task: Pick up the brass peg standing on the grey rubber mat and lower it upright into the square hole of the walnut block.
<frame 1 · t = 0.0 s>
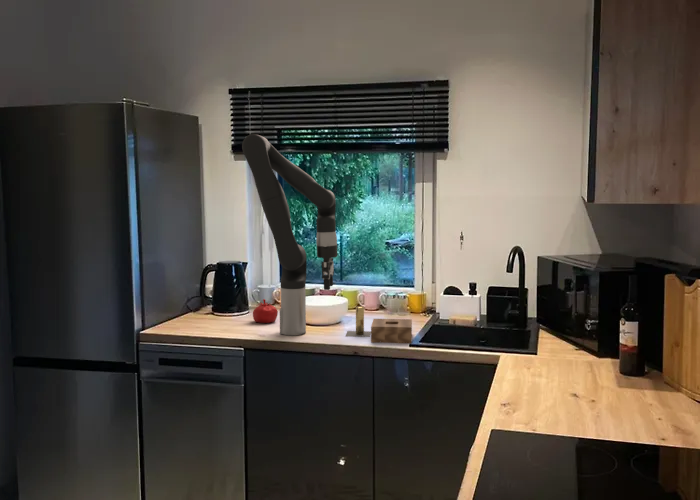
hand: (328, 287, 247), 17 cm above the worktop, fingers open, 8 cm apart
mat: (358, 334, 246), on the worktop
pomegranate: (265, 322, 270), on the worktop
peg: (359, 333, 246), resting on mat
hole block: (391, 339, 239), on the worktop
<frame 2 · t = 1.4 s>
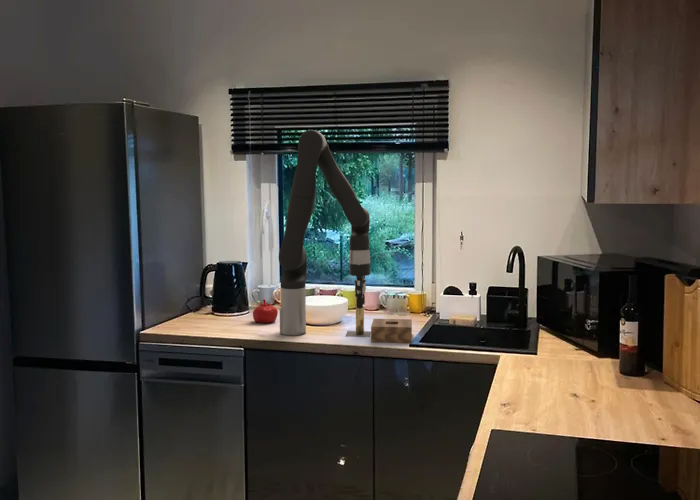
hand: (360, 306, 245), 11 cm above the worktop, fingers open, 8 cm apart
nothing on the worktop moved.
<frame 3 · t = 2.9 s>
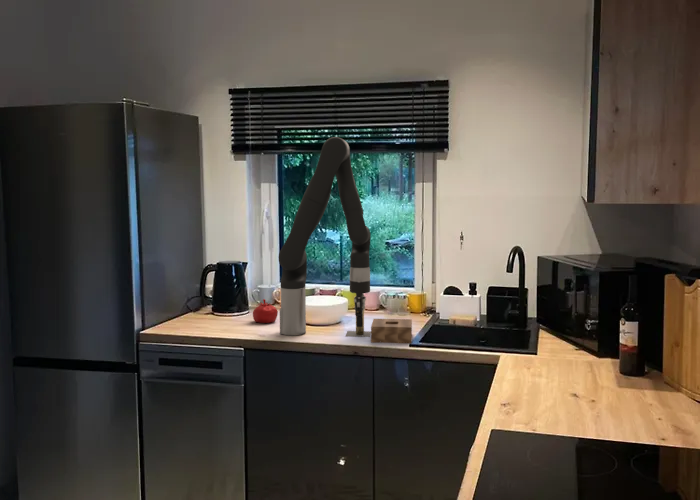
hand: (359, 325, 246), 4 cm above the worktop, fingers closed on peg, 3 cm apart
peg: (359, 333, 246), resting on mat, touching gripper
everything else where it was.
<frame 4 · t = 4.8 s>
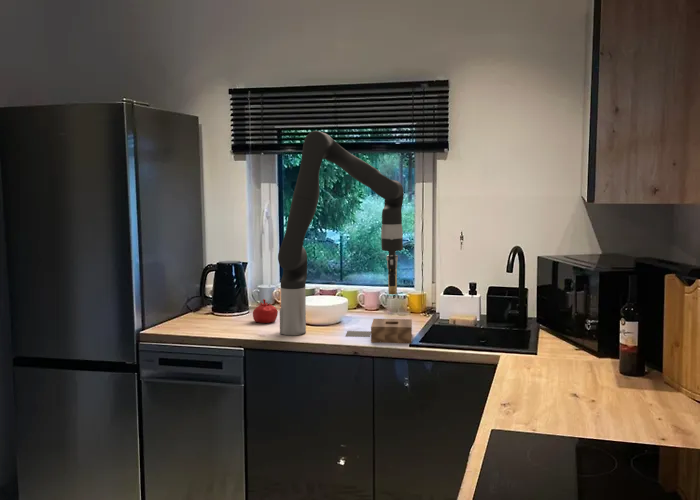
hand: (392, 285, 237), 20 cm above the worktop, fingers closed on peg, 3 cm apart
peg: (392, 293, 238), point 16 cm above the worktop, touching gripper
everything else where it was.
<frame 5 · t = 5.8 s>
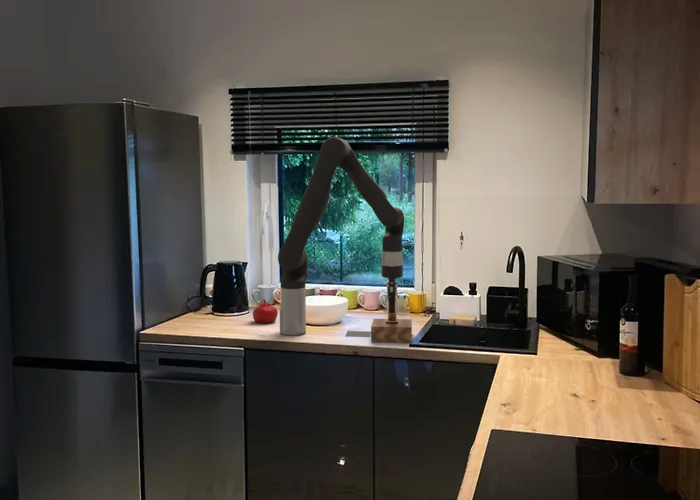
hand: (392, 311, 238), 10 cm above the worktop, fingers closed on peg, 3 cm apart
peg: (392, 320, 239), point 7 cm above the worktop, touching gripper
everything else where it was.
when the fingers open (7 cm above the worktop, at t = 6.7 s): peg drops 4 cm, resting in hole block.
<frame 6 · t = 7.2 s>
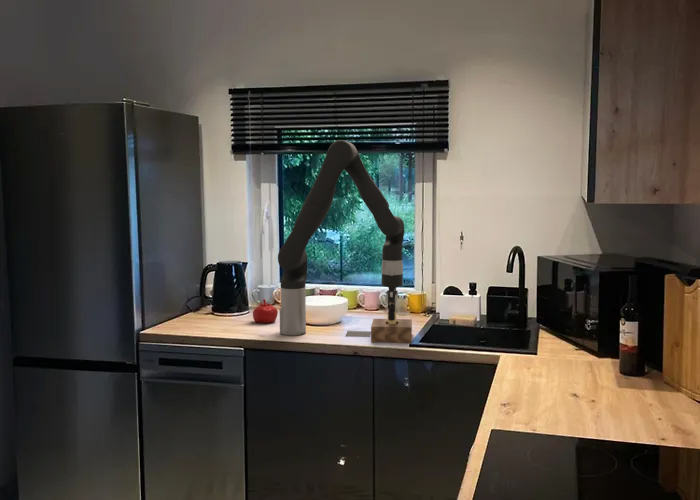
hand: (392, 317, 238), 8 cm above the worktop, fingers open, 8 cm apart
peg: (392, 339, 239), resting in hole block
everything else where it was.
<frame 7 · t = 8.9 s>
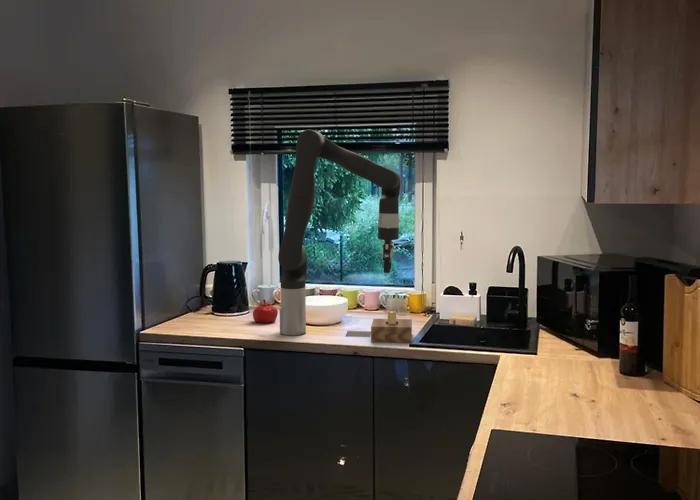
hand: (387, 271, 240), 24 cm above the worktop, fingers open, 8 cm apart
nothing on the worktop moved.
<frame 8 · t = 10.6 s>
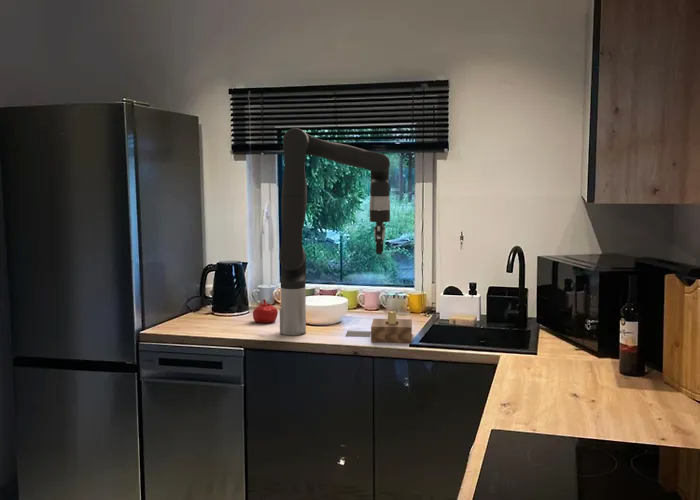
hand: (379, 252, 247), 30 cm above the worktop, fingers open, 8 cm apart
nothing on the worktop moved.
at the end: peg 0.1 cm off-centre on the hole block, point 0.0 cm above the hole block's base; peg tilted 0°; the gripper is holding nothing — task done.
